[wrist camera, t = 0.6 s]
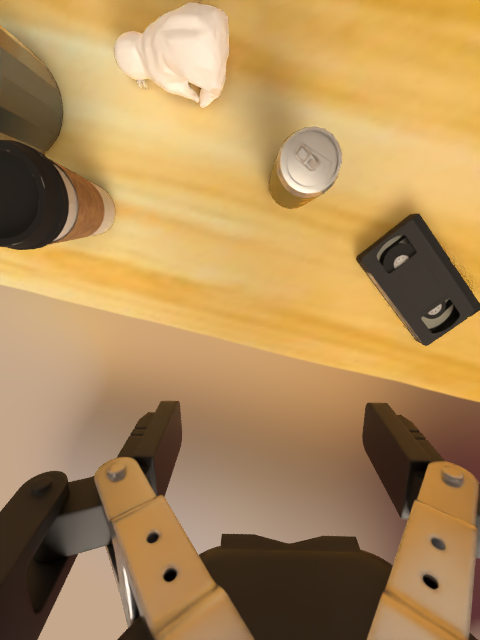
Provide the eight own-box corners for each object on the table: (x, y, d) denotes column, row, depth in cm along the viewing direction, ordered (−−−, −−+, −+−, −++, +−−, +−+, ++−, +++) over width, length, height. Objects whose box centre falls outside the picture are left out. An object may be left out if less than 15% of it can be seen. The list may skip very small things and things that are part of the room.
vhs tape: (354, 258, 39) (360, 259, 37) (410, 214, 37) (418, 213, 35) (417, 342, 41) (425, 347, 39) (471, 304, 40) (482, 308, 38)
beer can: (259, 187, 37) (263, 165, 25) (290, 149, 36) (310, 107, 24) (292, 218, 38) (311, 210, 26) (324, 182, 36) (359, 156, 25)
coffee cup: (53, 234, 39) (-63, 233, 24) (62, 163, 37) (-60, 116, 22) (119, 253, 39) (43, 263, 25) (131, 184, 37) (56, 150, 23)
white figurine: (218, 74, 26) (85, 62, 27) (233, 114, 35) (130, 103, 36) (227, -18, 25) (85, -27, 26) (240, 46, 33) (132, 38, 34)
